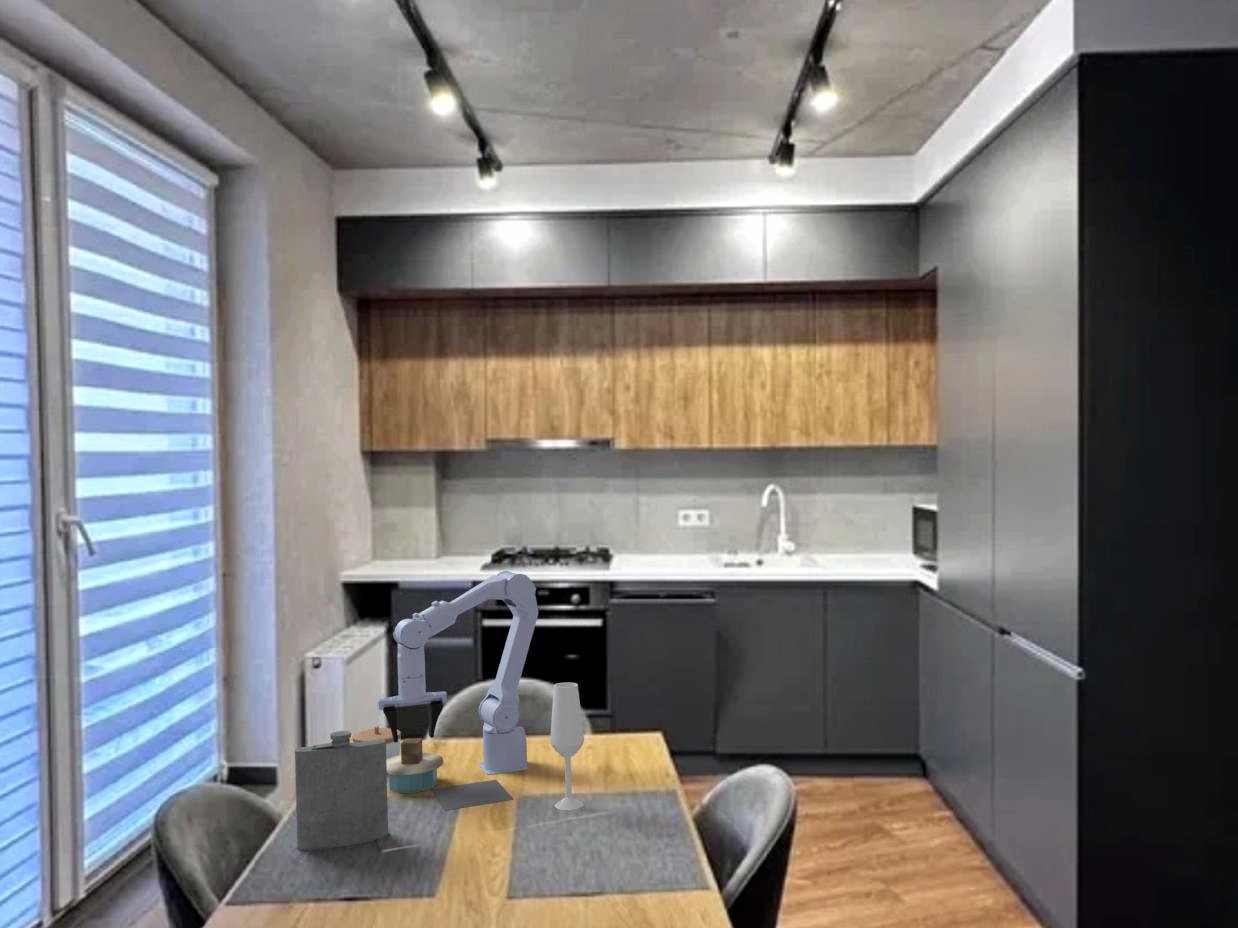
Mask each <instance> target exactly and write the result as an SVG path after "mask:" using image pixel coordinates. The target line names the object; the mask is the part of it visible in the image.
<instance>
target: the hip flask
mask: <svg viewBox="0 0 1238 928" xmlns="http://www.w3.org/2000/svg"><path fill="white" fill-rule="evenodd" d="M329 734H330V740H331V742H328V743H321V744H315V745H314V744H313V745H312V746H303V747H298V748H295V750H294V761H295V762H294V764H295V765H294V766H295V770H294V771H295V808H296V813H295V814H296V846H297V850H300V851H308V850H323V849H322V848H324V849H331V848H332V849H333V848H339V847H347V846H354V845H360V844H368V843H372V841H373V842H377V839H382V838H385V837H387V836H388V835H389V817H388V816H389V812H388V811H389V810H388V807H389V806H388V773H387V764H386V740H383V739H376V740H370V741H363V742H355V743H353V742H351V741H350V740H351V739H350V738H352V732H351V731H350V730H338V731H334V732H332V733H329Z"/></svg>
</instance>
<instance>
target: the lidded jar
mask: <svg viewBox="0 0 1238 928" xmlns="http://www.w3.org/2000/svg"><path fill="white" fill-rule="evenodd" d="M397 734H398V742H397V743H394V741H393V736H392V732H391V728H390V727H380V726H379V725H377V726H374V727H373V728H370V729H365V730H361V731H359V732H356V733H354V734H353V735H352V743H355V742H363V741H370V740H376V739H383V740H386V759H388V758H390V757H393V756H397V755H400V753H401V743H402V741H401V737H402V731H400V730H399V729H397Z"/></svg>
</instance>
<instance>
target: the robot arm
mask: <svg viewBox="0 0 1238 928" xmlns="http://www.w3.org/2000/svg"><path fill="white" fill-rule="evenodd" d="M536 590H537V587H536V586H535V584H534V583H533V581H532V580H531V579H530V577H529V576H528V575H526V574H523V573H515V572H511V571H508V570H503V571H500V572H499V573H497V574H496V575H492V576H489V577H487V578H486V579H485V580H484V581H482V582H480V583H479V584H477V585H476V586H474V587H473V588H470V589H468V591H466V592H464V593H462V594H460V596H458V597H457V598H454V599H453V600H451V601H450V602H448V601H445V600H440V601H438V600H435V601H433V602H432V603H431V604H430V605H431V606H429V607H428V608H426V609H424V610H423V611H420V612H419V613H418V612H415V613H413V614H412V618H405V619H402V620H400V621H399V622H398V623H397V625H396V626H395V628H394V631H393V633H392V636H393V639H394V640H395V642H396V643H397V679H398V680H397V685H398V695H394V696H389V697H384V698H378V699H376V701H377V702H376V703H377V705H376V706H377V710H378V711H382V712H383V714H384V716H385V718H386V720H387V723H388V725H389V728H391V732H392V736H393V741H394V743H397V742H398V734H397V730H398V712H397V709H396V708H401V707H402V708H403V707H409V706H417V705H425V704H427V711H428V737H429V738H431V739H433V738H434V737H435V731H436V727H437V722H438V720H439V718H440V715H441V713H442V711H443V708H444V704H443V703H447V702H448V694H447V693H448V692H446V691H434V692H433V691H432V692H431V691H430V692H427V690H426V689H427V685H426V659H425V658H426V657H425V644H426V643H427V642H428V639H429V638H431V637H433V636H435V635H437V634H439V633H441V632H442V631H443V630H445V629H447V628H449V627H450V626H452V625H454V624H455V623H456V621H457V617H458V616H459V615H461V614H462V613H465V612H466V611H468V610H471V609H472V608H474V607H476V606H478V605H480V604H482V603H485V602H486V601H488V600H502V602H504V603H505V604H506V606H507V607H508V609H509V610H510V612H511V613H512V621H511V624H510V627H509V631H508V635H507V638H506V641H505V643H504V644H505V645H504V649H503V652H502V654H501V655H502V656H501V659H500V663H499V666H498V669H497V673H496V677H495V680H494V683H493V684H492V685H491V686H490V687H489V688H488V690H487V693H486V695H485V697H484V698H483V700H482V701H481V702H480V703H479V706H478V717H480V720H481V721H483V726H482V743H483V744H482V745H483V749H482V750H483V753H482V754H483V763H479V764H478V767H479V768H480V769H481V770H482V771H483V773H484V774H485V775H487V776H491V775H498V774H504V773H513V772H518V771H523V770H524V771H525V770H528V769H529V767H528V749H527V747H528V745H527V736H526V731H525V728H524V727H523V726H517V725H518V722H519V719H520V712H519V705H520V704H519V703H520V696H519V692H518V688H519V684H520V681H521V677H522V673H523V670H524V667H525V663H526V659H527V657H528V656H527V655H528V652H529V649H530V644H531V641H532V638H533V634H534V631H535V627H536V622H537V620H538V616H539V608H538V602H537V597H536Z"/></svg>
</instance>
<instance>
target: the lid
mask: <svg viewBox="0 0 1238 928" xmlns="http://www.w3.org/2000/svg"><path fill="white" fill-rule="evenodd" d="M386 764H387V775H388V774H394V775H412V774H420V773H425V772H429V771H432V770H435V769H437V770H438V769H439V768H440V767H442V766H443V765H444V758H443V756H442V755H440V754H438V753H433V752H432V753H431V752H423V738H405V739H404V740H402V741H401V742H400V754H399V755H397V756H393V757H390V758H388V759H386Z"/></svg>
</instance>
